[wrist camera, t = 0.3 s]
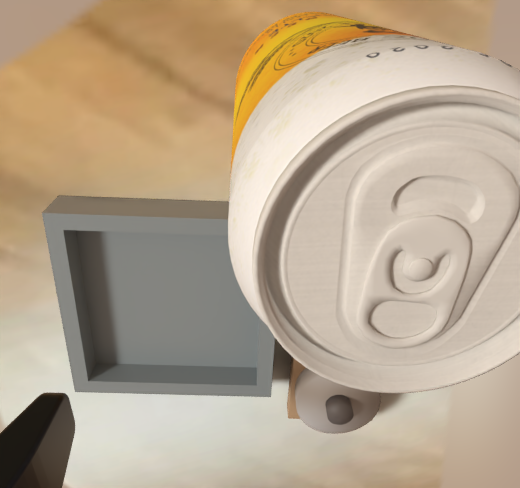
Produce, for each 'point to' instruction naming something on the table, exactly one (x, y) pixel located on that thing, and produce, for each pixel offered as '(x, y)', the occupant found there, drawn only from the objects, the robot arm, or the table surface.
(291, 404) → the desk bell
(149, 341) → the tray
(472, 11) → the table surface
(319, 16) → the beer can
